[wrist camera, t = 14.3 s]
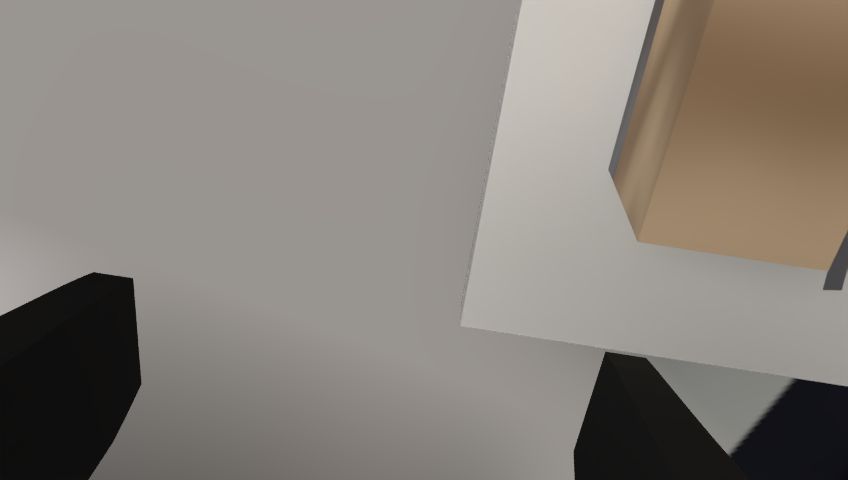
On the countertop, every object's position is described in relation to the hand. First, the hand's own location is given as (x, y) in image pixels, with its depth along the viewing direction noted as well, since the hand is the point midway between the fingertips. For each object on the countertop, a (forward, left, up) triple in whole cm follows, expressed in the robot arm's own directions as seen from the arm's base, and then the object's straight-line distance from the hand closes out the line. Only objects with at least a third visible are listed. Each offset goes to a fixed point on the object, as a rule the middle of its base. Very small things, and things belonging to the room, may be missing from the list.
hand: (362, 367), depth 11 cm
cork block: (+4, -7, -9) cm, 12 cm away
